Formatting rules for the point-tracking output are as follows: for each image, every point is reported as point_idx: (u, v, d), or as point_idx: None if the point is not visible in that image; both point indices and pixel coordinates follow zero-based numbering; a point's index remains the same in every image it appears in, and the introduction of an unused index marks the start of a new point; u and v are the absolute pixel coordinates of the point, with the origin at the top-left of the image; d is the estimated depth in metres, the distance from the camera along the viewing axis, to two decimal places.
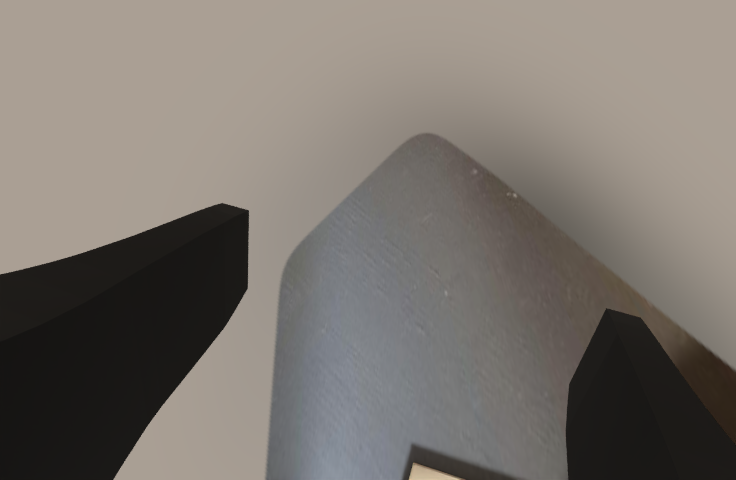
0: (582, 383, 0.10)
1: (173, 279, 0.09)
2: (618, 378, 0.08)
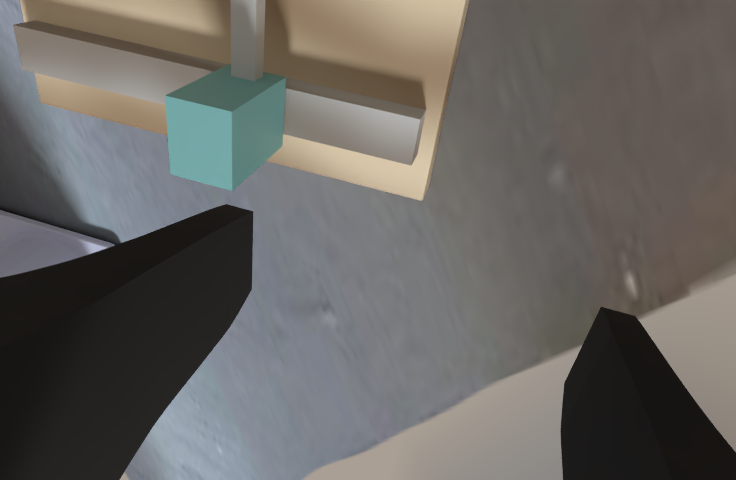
0: (577, 381, 0.10)
1: (178, 281, 0.09)
2: (611, 376, 0.08)
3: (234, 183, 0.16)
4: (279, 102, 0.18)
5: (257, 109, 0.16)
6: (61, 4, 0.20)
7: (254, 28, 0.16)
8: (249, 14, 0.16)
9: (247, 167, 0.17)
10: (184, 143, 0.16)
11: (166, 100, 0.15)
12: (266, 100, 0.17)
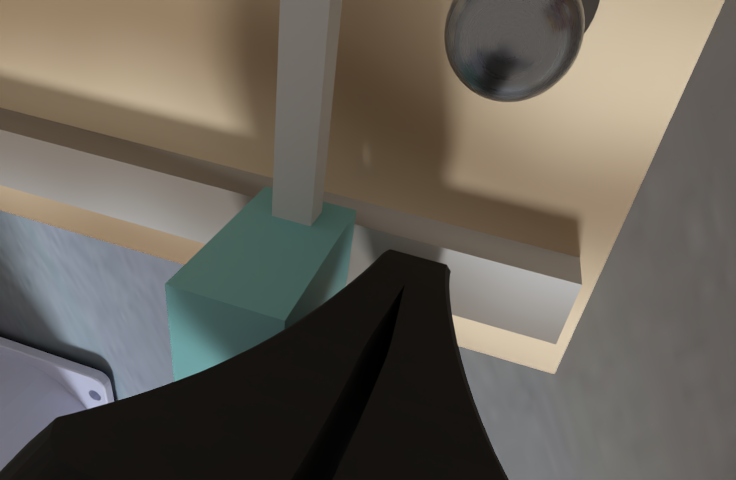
0: None
1: (379, 341, 0.08)
2: (397, 313, 0.09)
3: None
4: (346, 249, 0.11)
5: (319, 284, 0.10)
6: (15, 82, 0.13)
7: (314, 149, 0.10)
8: (307, 129, 0.09)
9: None
10: (198, 353, 0.09)
11: (167, 291, 0.09)
12: (331, 261, 0.10)
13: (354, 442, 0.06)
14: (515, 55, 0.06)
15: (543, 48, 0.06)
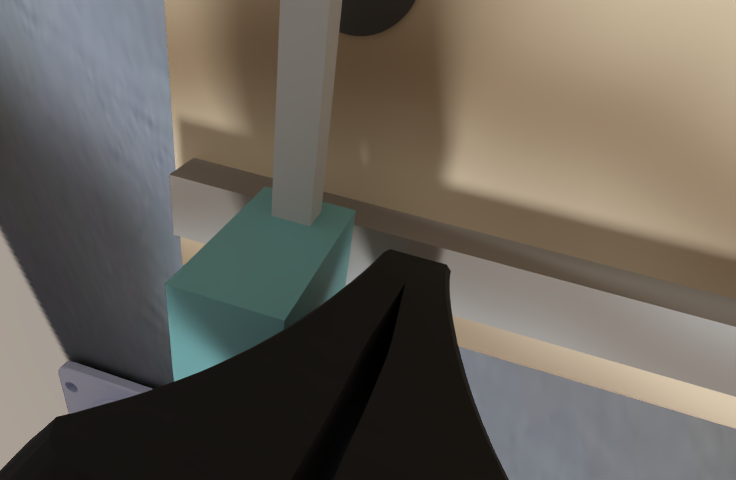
0: None
1: (378, 341, 0.08)
2: None
3: None
4: (345, 249, 0.11)
5: (319, 284, 0.10)
6: (244, 139, 0.12)
7: (314, 149, 0.10)
8: (307, 129, 0.09)
9: None
10: (198, 353, 0.09)
11: (167, 291, 0.09)
12: (330, 261, 0.10)
13: (354, 442, 0.06)
14: None
15: None
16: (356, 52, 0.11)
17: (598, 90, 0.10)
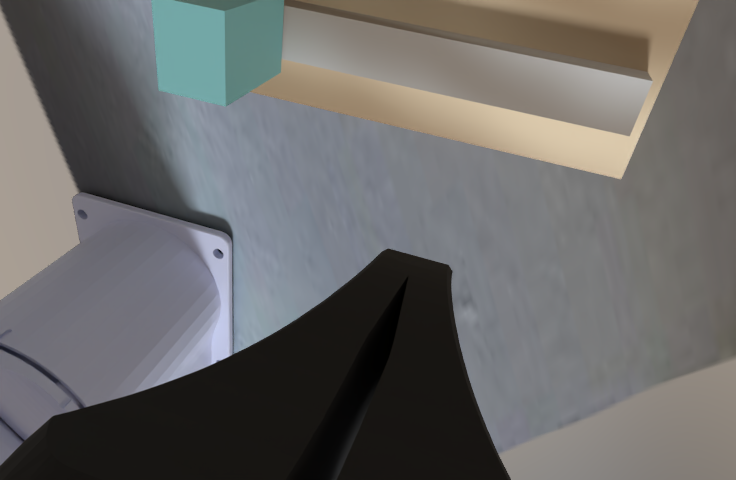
0: None
1: (376, 341, 0.08)
2: None
3: (228, 98, 0.15)
4: (277, 19, 0.16)
5: (253, 18, 0.15)
6: None
7: None
8: None
9: (243, 84, 0.15)
10: (173, 52, 0.14)
11: (152, 1, 0.14)
12: (263, 12, 0.15)
13: (357, 443, 0.06)
14: None
15: None
16: None
17: None
